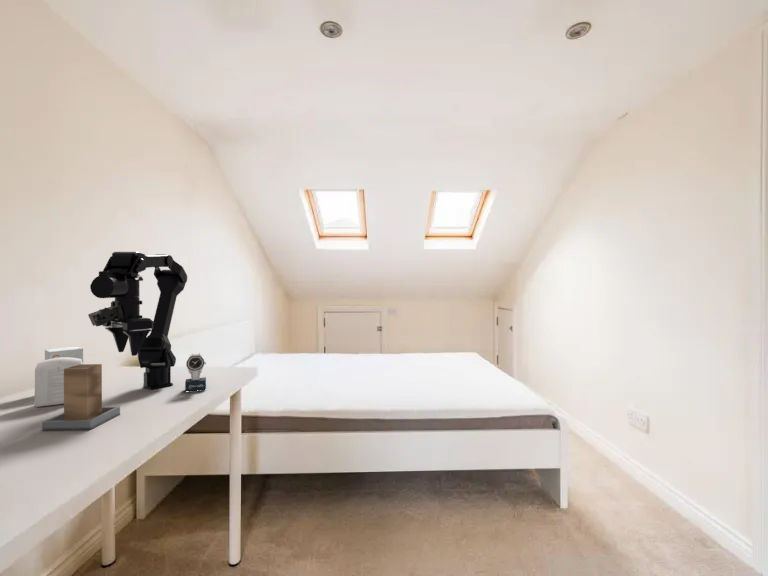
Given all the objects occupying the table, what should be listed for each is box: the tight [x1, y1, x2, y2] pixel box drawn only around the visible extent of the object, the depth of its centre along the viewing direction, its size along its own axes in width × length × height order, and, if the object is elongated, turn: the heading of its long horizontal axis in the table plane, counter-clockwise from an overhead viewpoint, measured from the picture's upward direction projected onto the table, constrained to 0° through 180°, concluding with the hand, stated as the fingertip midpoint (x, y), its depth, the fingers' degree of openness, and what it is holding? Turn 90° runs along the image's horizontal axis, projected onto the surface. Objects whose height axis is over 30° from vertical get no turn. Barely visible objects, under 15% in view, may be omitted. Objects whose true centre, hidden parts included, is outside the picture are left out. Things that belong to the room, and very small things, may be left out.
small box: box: [44, 346, 84, 364], centre depth 116 cm, size 8×6×13 cm
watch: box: [184, 353, 207, 393], centre depth 118 cm, size 6×8×11 cm
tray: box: [41, 406, 121, 432], centre depth 90 cm, size 10×10×2 cm
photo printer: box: [33, 357, 84, 408], centre depth 105 cm, size 10×4×12 cm, turn 123°
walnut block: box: [63, 363, 103, 420], centre depth 90 cm, size 5×5×12 cm
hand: (127, 353), depth 107 cm, fingers open, 9 cm apart
